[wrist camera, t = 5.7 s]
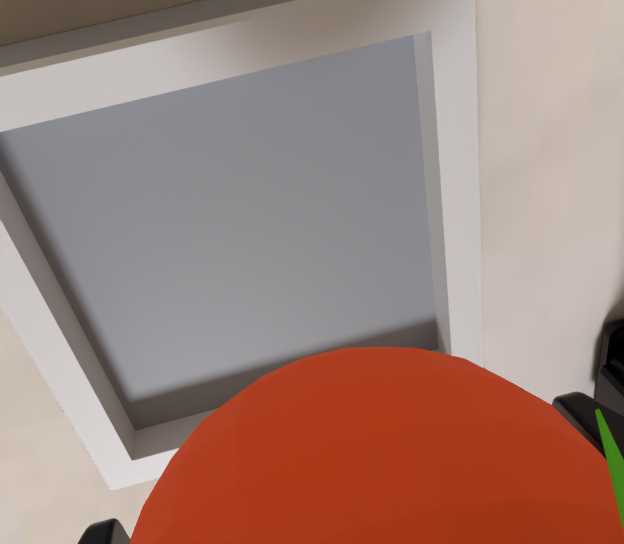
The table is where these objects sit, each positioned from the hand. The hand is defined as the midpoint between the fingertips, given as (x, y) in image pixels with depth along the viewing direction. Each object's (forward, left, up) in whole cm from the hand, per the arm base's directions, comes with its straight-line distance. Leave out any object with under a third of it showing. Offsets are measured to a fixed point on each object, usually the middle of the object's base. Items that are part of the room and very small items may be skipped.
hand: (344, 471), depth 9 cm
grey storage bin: (+1, 0, -12) cm, 12 cm away
